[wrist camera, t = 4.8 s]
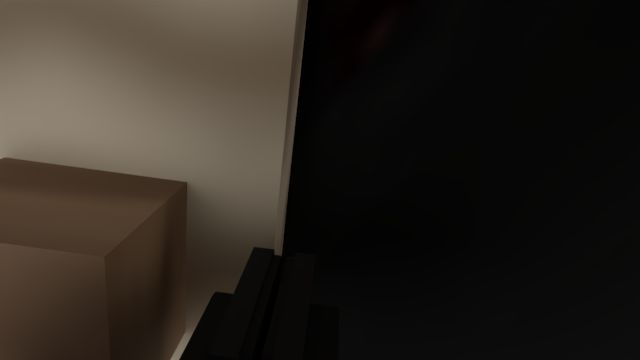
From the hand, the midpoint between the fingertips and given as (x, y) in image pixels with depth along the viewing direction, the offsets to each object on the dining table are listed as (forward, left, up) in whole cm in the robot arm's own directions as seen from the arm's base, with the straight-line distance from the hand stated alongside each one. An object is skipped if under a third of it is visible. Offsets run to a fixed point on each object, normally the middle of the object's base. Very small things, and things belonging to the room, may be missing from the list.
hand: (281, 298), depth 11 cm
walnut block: (0, -5, -1) cm, 5 cm away
